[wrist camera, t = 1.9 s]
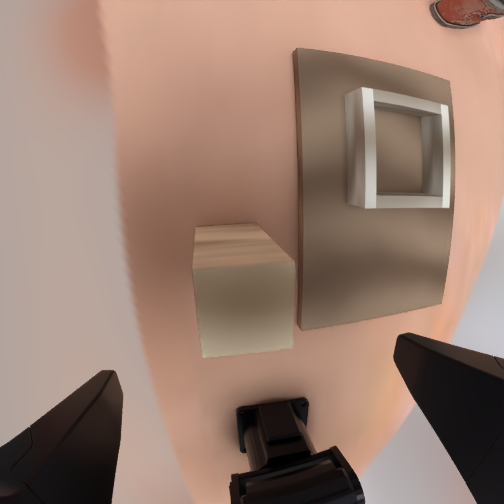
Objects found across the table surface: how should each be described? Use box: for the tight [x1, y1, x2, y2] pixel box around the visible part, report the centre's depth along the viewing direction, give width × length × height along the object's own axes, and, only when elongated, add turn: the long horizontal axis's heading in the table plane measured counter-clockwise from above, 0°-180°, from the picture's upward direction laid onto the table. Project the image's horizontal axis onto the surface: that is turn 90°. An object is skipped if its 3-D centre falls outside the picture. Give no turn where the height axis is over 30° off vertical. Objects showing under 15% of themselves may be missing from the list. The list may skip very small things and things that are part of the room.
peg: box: [192, 223, 295, 358], centre depth 17 cm, size 4×4×9 cm
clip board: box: [293, 48, 455, 331], centre depth 20 cm, size 20×14×4 cm
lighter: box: [429, 0, 504, 29], centre depth 13 cm, size 8×3×10 cm, turn 115°
